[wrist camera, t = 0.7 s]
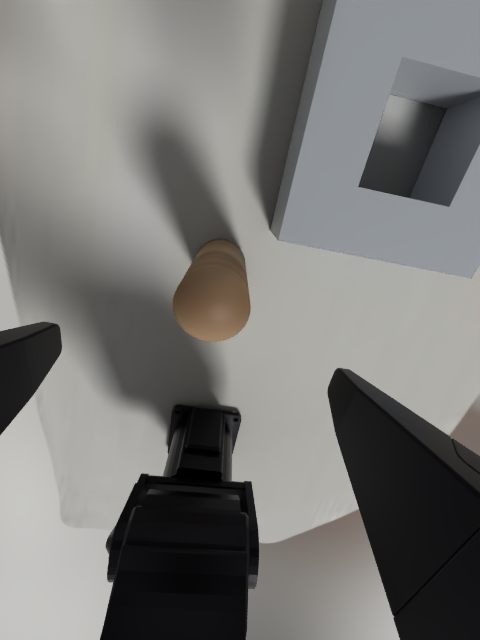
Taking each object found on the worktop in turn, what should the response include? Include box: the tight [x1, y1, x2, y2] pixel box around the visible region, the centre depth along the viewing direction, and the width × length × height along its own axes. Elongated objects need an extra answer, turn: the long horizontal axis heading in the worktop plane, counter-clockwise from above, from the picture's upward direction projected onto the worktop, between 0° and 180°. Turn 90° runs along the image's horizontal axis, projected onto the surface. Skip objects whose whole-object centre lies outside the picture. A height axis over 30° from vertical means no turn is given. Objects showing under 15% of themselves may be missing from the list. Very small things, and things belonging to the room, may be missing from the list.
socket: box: [270, 0, 480, 278], centre depth 15 cm, size 12×12×4 cm
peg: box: [173, 239, 250, 342], centre depth 16 cm, size 4×4×8 cm
